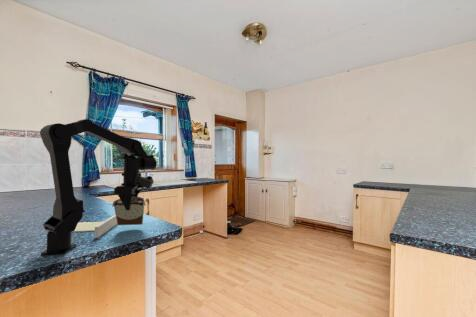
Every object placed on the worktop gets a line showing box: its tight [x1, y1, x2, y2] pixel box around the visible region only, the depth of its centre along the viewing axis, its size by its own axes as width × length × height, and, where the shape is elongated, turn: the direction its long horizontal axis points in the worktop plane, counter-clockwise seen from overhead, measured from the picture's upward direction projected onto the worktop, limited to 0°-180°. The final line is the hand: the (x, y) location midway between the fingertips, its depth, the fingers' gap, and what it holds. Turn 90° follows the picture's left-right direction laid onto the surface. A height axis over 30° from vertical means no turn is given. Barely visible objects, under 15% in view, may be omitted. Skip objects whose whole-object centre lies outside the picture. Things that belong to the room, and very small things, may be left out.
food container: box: [112, 196, 147, 226], centre depth 87 cm, size 12×6×10 cm, turn 97°
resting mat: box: [72, 221, 103, 233], centre depth 89 cm, size 12×15×1 cm
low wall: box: [94, 213, 118, 239], centre depth 87 cm, size 20×1×4 cm, turn 9°
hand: (130, 208), depth 86 cm, fingers closed on food container, 6 cm apart
